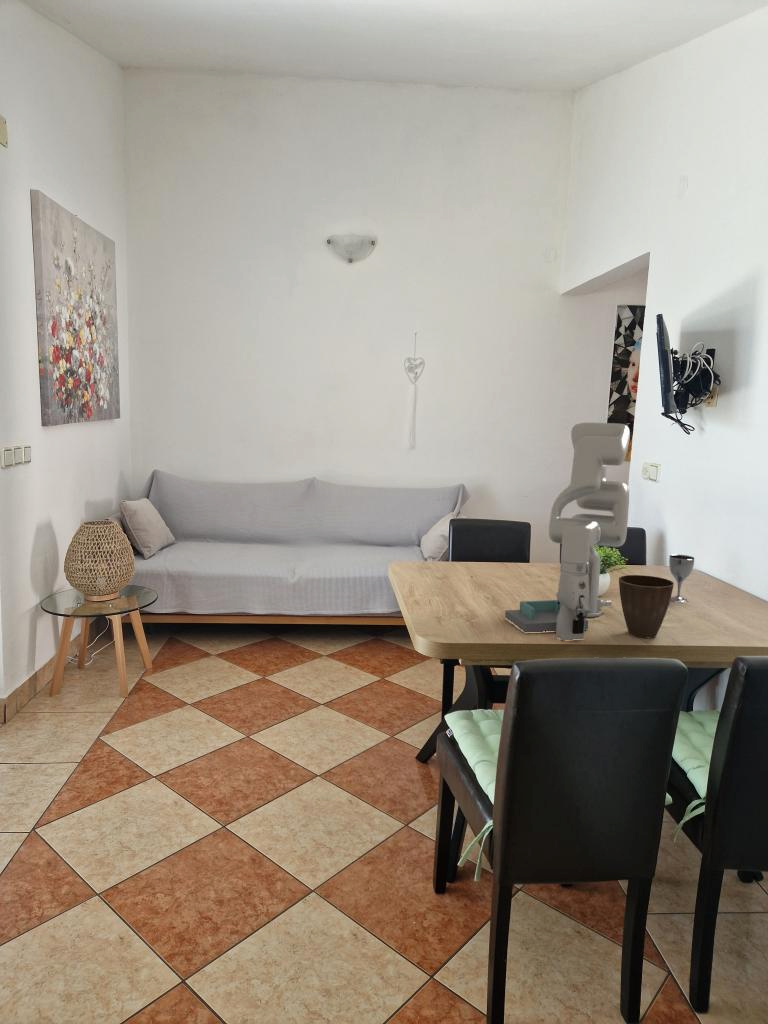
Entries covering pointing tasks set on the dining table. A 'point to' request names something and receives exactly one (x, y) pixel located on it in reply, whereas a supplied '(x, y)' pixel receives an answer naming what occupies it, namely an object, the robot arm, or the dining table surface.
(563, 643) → the dining table surface
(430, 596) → the dining table surface
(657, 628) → the plant pot
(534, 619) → the dock
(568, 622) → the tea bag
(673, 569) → the wine glass
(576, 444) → the robot arm
